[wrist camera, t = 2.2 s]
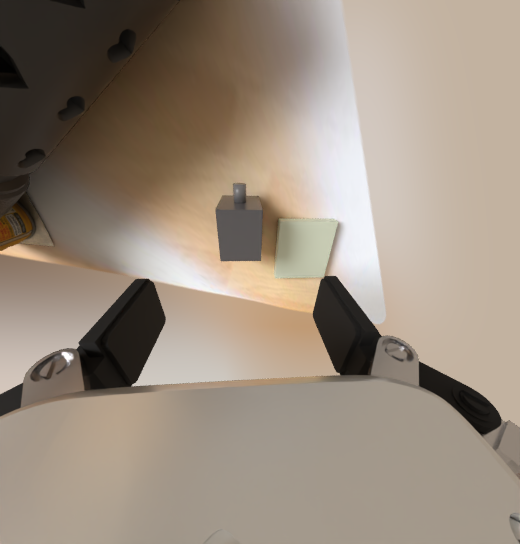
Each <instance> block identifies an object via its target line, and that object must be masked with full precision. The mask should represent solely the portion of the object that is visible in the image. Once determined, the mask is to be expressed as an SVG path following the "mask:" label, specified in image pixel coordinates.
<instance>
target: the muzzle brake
mask: <svg viewBox="0 0 520 544" xmlns="http://www.w3.org/2000/svg"><path fill="white" fill-rule="evenodd" d="M178 2H179V0H0V218H1V217H2V216H4V215H5V214H6V213H7V212H8V211H9V210H10V209H11V208H12V206H13V205H14V204H15V203H16V202H17V201H18V199H19V198H20V197H21V196H22V195H23V194H24V193H25V191H26V190H27V188H28V186H29V173H32V172H33V171H35V170H37V169H38V168H39V166H40V165H41V164H42V163H43V161H44V160H45V159H46V158H47V157H48V156H49V154H50V153H51V152H52V151H53V150H54V148H55V147H56V146H57V145H58V144H59V143H60V141H61V140H62V139H63V138H64V137H65V135H66V134H67V133H68V132H69V131H70V129H71V128H72V127H73V126H74V125H75V124H76V122H77V121H78V120H79V119H80V118H81V116H82V115H83V114H84V113H85V112H86V111H87V109H88V108H89V107H90V106H91V105H92V103H93V102H94V101H95V100H96V99H97V98H98V96H99V95H100V94H101V93H102V92H103V90H104V89H105V88H106V87H107V86H108V84H109V83H110V82H111V81H112V80H113V79H114V77H115V76H116V75H117V74H118V73H119V71H120V70H121V69H122V68H123V67H124V66H125V64H126V63H127V62H128V61H129V60H130V58H131V57H132V56H133V55H134V54H135V53H136V51H137V50H138V49H139V48H140V47H141V45H142V44H143V43H144V42H145V41H146V39H147V38H148V37H149V36H150V35H151V34H152V32H153V31H154V30H155V29H156V28H157V26H158V25H159V24H160V23H161V22H162V21H163V19H164V18H165V17H166V16H167V15H168V13H169V12H170V11H171V10H172V9H173V8H174V6H175V5H176V4H177V3H178Z"/></svg>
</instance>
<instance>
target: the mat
mask: <svg viewBox="0 0 520 544" xmlns="http://www.w3.org/2000/svg"><path fill="white" fill-rule="evenodd" d="M337 225H338V221H337V220H335V219H287V218H278V230H277V242H276V254H275V266H274V276H275V278H314V277H324V275H325V271H326V267H327V263H328V259H329V256H330V252H331V248H332V244H333V240H334V236H335V233H336V229H337Z"/></svg>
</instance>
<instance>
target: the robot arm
mask: <svg viewBox="0 0 520 544" xmlns="http://www.w3.org/2000/svg"><path fill="white" fill-rule="evenodd" d="M313 318H314V321H315V323H316V326H317V328H318V330H319V333H320V335H321V337H322V340H323V342H324V344H325V347H326V349H327V352H328V354H329V356H330V359H331V361H332V363H333V366H334V368H335V370H336V372H338V373H340V376H315V377H314V376H313V377H295V378H294V377H292V378H273V379H255V380H234V381H218V382H200V383H199V382H198V383H183V384H165V385H149V386H134V387H131V386H132V384H134V383H136V381H137V380H138V378H139V376H140V374H141V371H142V370H143V367H144V365H145V363H146V361H147V359H148V357H149V355H150V353H151V351H152V349H153V347H154V345H155V343H156V341H157V338H158V337H159V334H160V332H161V330H162V328H163V326H164V324H165V320H166V319H165V315H164V312H163V309H162V306H161V303H160V300H159V297H158V294H157V291H156V288H155V285H154V283H153V282H152V281H150V280H149V279H136V280H135V281H134V282H133V283H132V284H131V285H130V286H129V287H128V288H127V289H126V291H125V292H124V293H123V294H122V295H121V296H120V297H119V298H118V299H117V300H116V302H115V303H114V304H113V305H112V306H111V307H110V308H109V309H108V311H107V312H106V313H105V314H104V315H103V316H102V317H101V318H100V319H99V320H98V322H97V323H96V324H95V325H94V326H93V327H92V328H91V329H90V330H89V332H88V333H87V334H86V335H85V336H84V337H83V338H82V339H81V340H80V341H79V345H80V346H79V347H78V348H77V349H76V350H75V349H69V348H67V349H63V350H59V351H56V352H53V353H51V354H49V355H47V356H45V357H44V358H42V359H41V360H39V361H38V362H36V363H35V364H34V365H33V366H32V367H31V368H30V369H29V370H28V372H27V373H26V374H25V377H24V381H23V383H22V384H20V385H18V386H16V387H14V388H12V389H10V390H8V391H6V392H4V393H2V394H0V544H520V428H519V427H518V426H517V425H515V424H514V423H512V422H511V421H510V420H509V421H507V422H505V421H503V420H502V419H501V417H500V415H499V413H498V411H497V410H496V408H495V407H494V406H493V405H492V404H491V403H490V402H489V401H488V400H487V399H486V398H485V397H484V396H482V395H481V394H480V393H478V392H477V391H475V390H473V389H472V388H470V387H468V386H466V385H464V384H462V383H460V382H458V381H456V380H454V379H453V378H451V377H449V376H447V375H445V374H443V373H441V372H439V371H437V370H435V369H433V368H431V367H429V366H427V365H425V364H423V363H421V362H419V359H418V355H417V353H416V352H415V350H414V349H413V348H412V347H411V346H410V345H409V344H407V343H406V342H405V341H403V340H401V339H399V338H396V337H393V336H381V335H380V334H379V332H378V330H377V329H376V328H375V326H374V325H373V324H372V322H371V321H370V320H369V318H368V317H367V316H366V314H365V313H364V312H363V311H362V309H361V308H360V307H359V305H358V304H357V303H356V301H355V300H354V299H353V298H352V296H351V295H350V294H349V292H348V291H347V290H346V288H345V287H344V286H343V284H342V283H341V282H340V281H339V279H338V278H337V277H336V276H325V277H324V279H321V282H320V286H319V290H318V294H317V298H316V303H315V307H314V311H313Z"/></svg>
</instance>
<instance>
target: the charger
mask: <svg viewBox="0 0 520 544" xmlns="http://www.w3.org/2000/svg"><path fill="white" fill-rule="evenodd" d="M233 193H234V196H222V198H221V200H220V202H219V204H218V206H217V208H216V219H217V229H218V239H219V249H220V259H221V261H261V245H262V218H263V209H262V206H261V203H260V200H259V197H258V196H246V184H244V183H234V184H233Z"/></svg>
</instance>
